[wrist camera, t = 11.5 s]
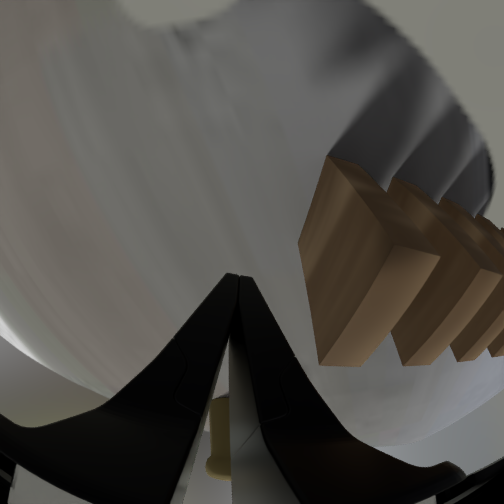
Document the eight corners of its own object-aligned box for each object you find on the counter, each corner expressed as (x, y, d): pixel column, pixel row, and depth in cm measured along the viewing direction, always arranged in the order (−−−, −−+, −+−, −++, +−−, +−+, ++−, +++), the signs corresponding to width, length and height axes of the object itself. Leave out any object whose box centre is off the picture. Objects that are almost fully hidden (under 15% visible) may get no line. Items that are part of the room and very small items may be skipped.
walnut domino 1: (358, 164, 14) (440, 256, 7) (326, 248, 18) (360, 366, 10) (326, 155, 14) (394, 244, 7) (297, 242, 18) (319, 365, 10)
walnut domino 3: (459, 204, 15) (535, 285, 8) (424, 269, 19) (474, 360, 11) (441, 196, 15) (523, 281, 8) (406, 265, 18) (457, 362, 11)
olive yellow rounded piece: (206, 395, 31) (196, 474, 22) (254, 398, 31) (251, 478, 22) (211, 412, 34) (204, 479, 25) (253, 414, 34) (251, 483, 25)
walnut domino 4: (489, 220, 16) (553, 292, 8) (456, 276, 19) (503, 355, 12) (477, 213, 15) (546, 289, 8) (443, 273, 19) (491, 357, 12)
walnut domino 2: (416, 186, 15) (503, 275, 7) (381, 260, 18) (429, 364, 11) (392, 176, 15) (480, 268, 7) (358, 255, 18) (402, 366, 11)
